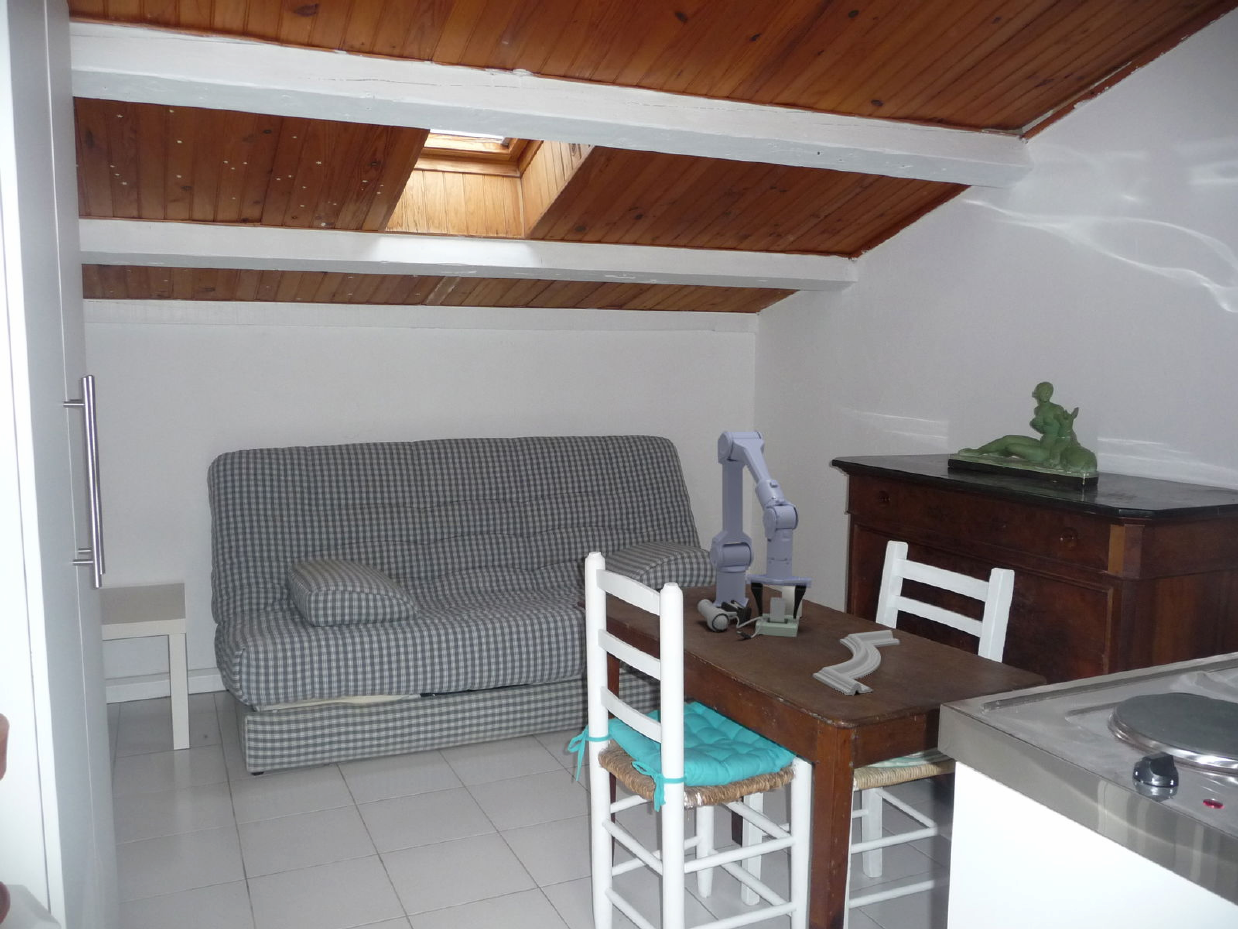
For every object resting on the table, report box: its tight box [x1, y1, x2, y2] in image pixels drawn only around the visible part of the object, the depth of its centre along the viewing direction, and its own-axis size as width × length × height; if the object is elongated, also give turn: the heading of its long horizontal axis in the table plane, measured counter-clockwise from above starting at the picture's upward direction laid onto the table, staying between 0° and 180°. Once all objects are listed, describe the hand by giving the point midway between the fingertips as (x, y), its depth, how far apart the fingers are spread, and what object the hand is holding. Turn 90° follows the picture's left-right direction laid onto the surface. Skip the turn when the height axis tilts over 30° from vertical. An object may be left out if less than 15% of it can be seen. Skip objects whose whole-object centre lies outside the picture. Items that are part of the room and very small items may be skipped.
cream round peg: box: [781, 586, 803, 619], centre depth 236 cm, size 5×5×7 cm
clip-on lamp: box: [697, 599, 763, 640], centre depth 224 cm, size 12×6×18 cm
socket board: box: [754, 613, 800, 638], centre depth 224 cm, size 11×9×2 cm
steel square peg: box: [769, 596, 786, 624], centre depth 224 cm, size 3×3×7 cm
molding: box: [812, 629, 901, 696], centre depth 200 cm, size 42×12×3 cm, turn 156°
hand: (777, 616), depth 224 cm, fingers open, 7 cm apart
